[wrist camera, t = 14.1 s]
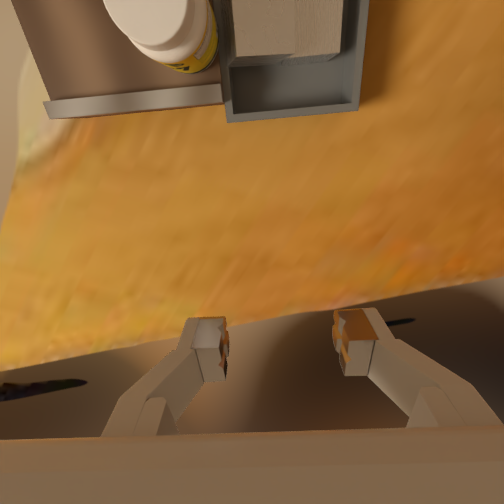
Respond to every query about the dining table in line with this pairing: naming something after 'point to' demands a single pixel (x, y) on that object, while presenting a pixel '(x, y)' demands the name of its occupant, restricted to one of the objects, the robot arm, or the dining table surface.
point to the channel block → (104, 64)
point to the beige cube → (316, 31)
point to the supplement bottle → (170, 31)
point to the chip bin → (298, 77)
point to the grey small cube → (258, 31)
